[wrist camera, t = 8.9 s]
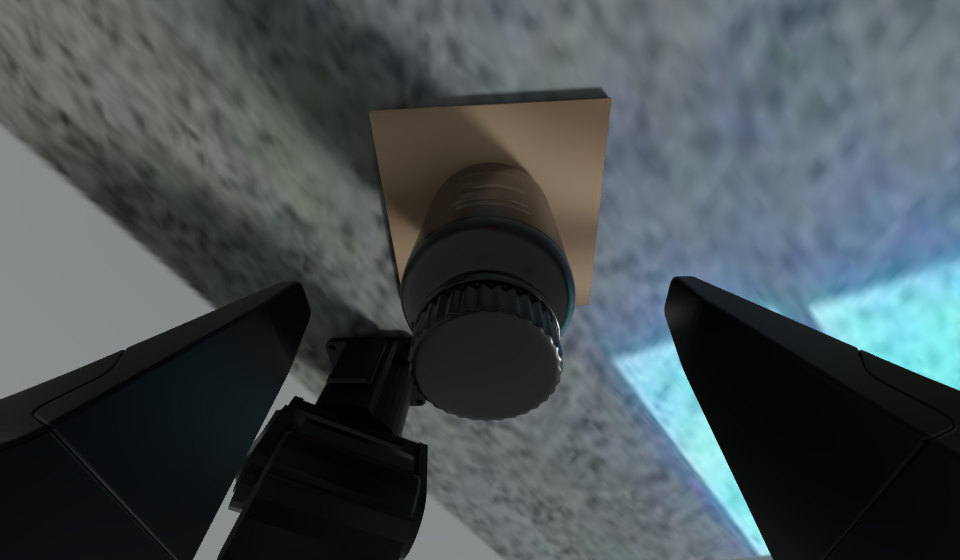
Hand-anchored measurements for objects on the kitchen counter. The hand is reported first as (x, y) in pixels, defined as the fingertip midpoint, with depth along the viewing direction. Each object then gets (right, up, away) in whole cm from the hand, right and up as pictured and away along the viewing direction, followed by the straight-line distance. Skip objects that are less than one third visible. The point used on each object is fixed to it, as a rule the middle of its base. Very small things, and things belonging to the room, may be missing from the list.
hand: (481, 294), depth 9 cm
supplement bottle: (+1, +4, +13) cm, 13 cm away
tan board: (+1, +4, +13) cm, 13 cm away
